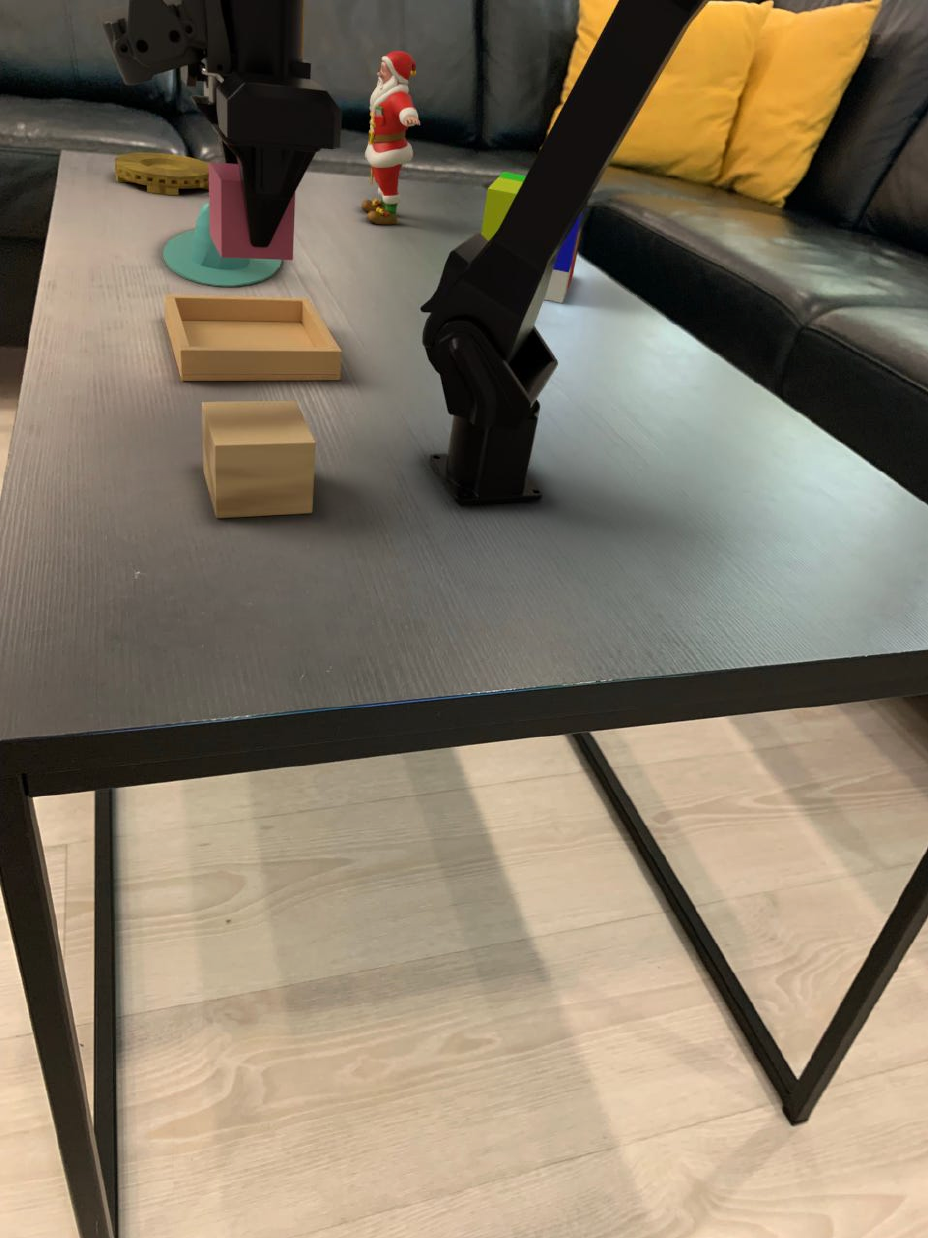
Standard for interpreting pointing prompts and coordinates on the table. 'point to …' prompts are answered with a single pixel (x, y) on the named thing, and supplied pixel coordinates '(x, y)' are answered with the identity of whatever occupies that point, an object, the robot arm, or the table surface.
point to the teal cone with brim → (213, 259)
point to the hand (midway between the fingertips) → (251, 234)
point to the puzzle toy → (562, 274)
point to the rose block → (242, 219)
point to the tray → (250, 339)
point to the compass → (162, 172)
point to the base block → (257, 458)
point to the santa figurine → (389, 134)
